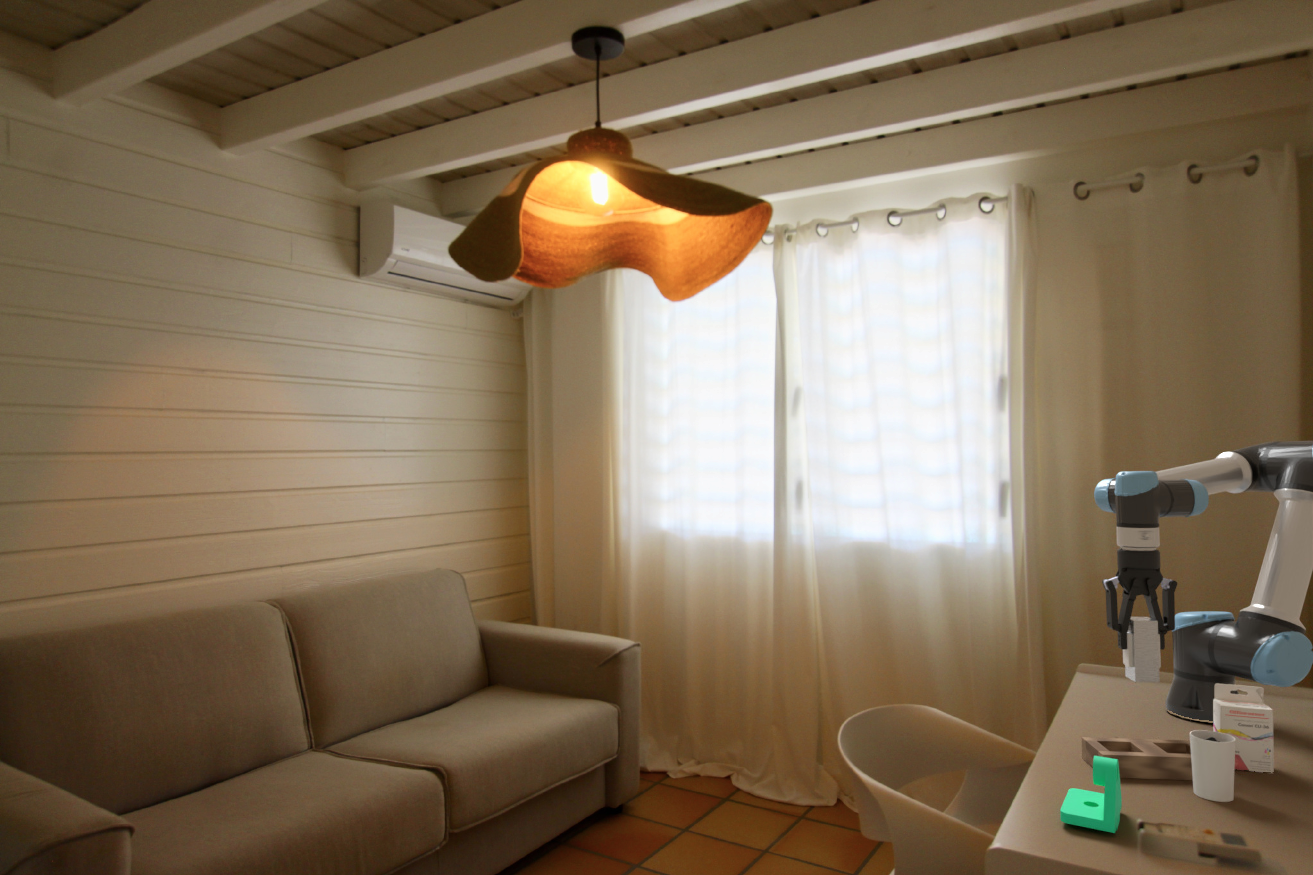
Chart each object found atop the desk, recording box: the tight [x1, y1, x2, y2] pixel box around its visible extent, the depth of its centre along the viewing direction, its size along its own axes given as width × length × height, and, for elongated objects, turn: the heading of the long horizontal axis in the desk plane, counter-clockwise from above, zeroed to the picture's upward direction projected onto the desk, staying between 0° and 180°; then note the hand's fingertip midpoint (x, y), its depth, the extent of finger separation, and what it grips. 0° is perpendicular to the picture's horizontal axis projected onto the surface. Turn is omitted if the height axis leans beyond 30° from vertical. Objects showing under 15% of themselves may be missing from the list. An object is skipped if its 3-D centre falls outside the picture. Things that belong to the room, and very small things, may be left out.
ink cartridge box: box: [1212, 683, 1275, 774], centre depth 160 cm, size 9×5×15 cm, turn 71°
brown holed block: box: [1081, 736, 1193, 781], centre depth 159 cm, size 20×10×4 cm, turn 84°
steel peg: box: [1124, 616, 1161, 683], centre depth 171 cm, size 4×4×12 cm
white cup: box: [1189, 729, 1235, 803], centre depth 146 cm, size 7×7×10 cm
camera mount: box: [1059, 756, 1123, 834], centre depth 137 cm, size 12×8×10 cm, turn 147°
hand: (1141, 665), depth 171 cm, fingers closed on steel peg, 4 cm apart
